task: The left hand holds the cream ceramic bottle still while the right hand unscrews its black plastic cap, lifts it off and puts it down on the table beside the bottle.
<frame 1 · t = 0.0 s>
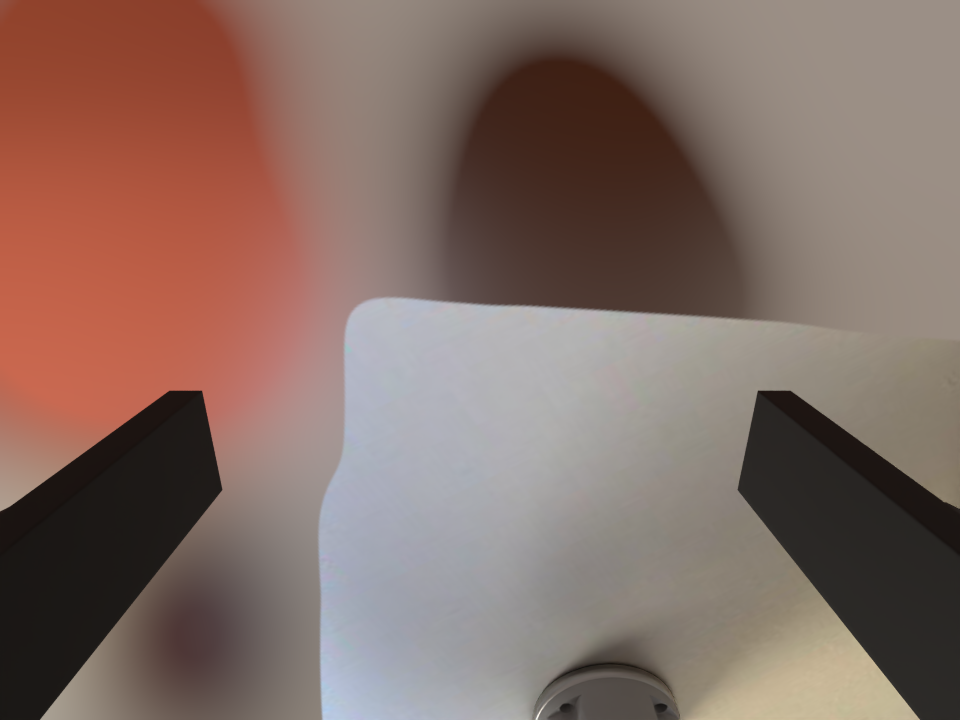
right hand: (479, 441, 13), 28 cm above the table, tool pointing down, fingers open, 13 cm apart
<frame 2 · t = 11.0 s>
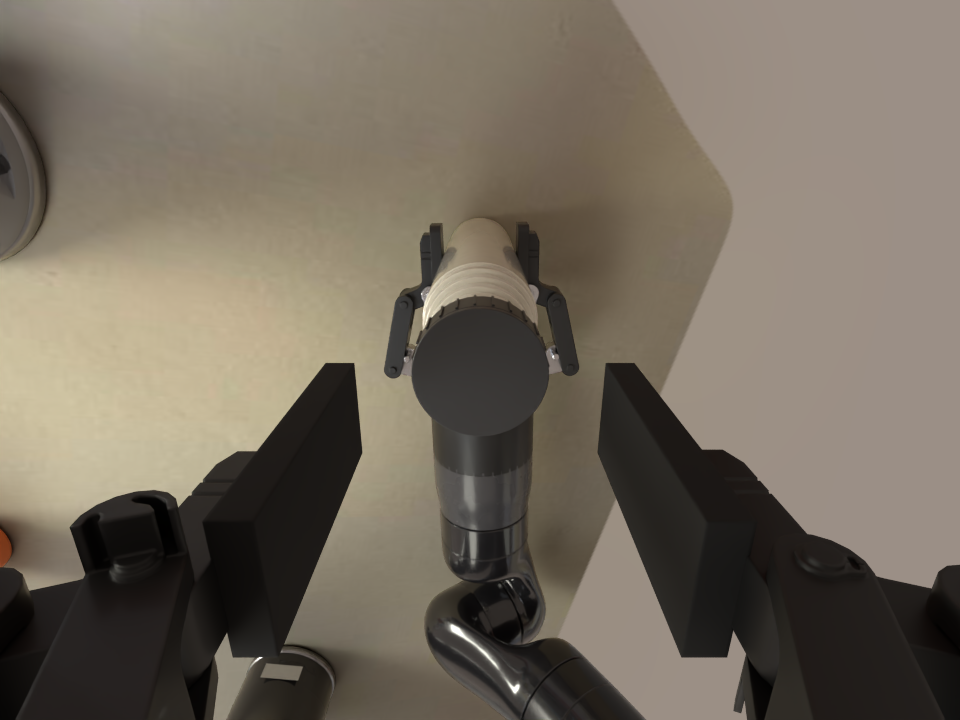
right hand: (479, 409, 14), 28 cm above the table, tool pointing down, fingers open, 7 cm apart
left hand: (478, 225, 34), fingers closed on bottle, 5 cm apart
bottle: (480, 250, 41), on the table, touching left hand
cap: (480, 372, 17), point 26 cm above the table, screwed on, not yet turned
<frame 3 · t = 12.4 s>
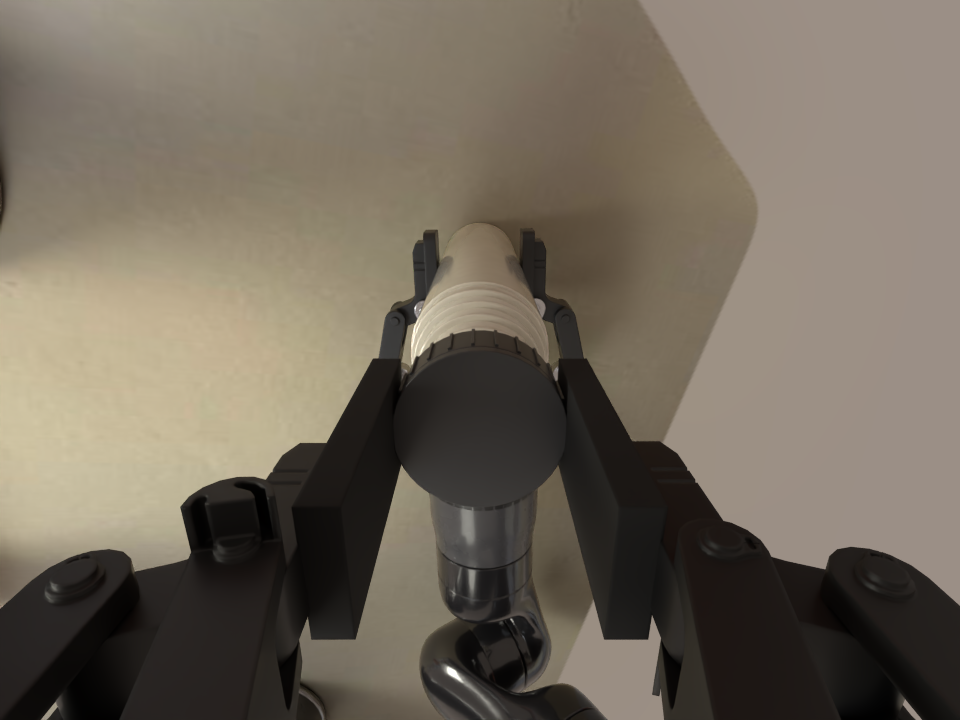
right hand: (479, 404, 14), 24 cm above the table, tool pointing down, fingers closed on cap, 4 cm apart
bottle: (479, 258, 37), on the table, touching left hand
cap: (479, 428, 13), point 26 cm above the table, screwed on, not yet turned, touching right hand
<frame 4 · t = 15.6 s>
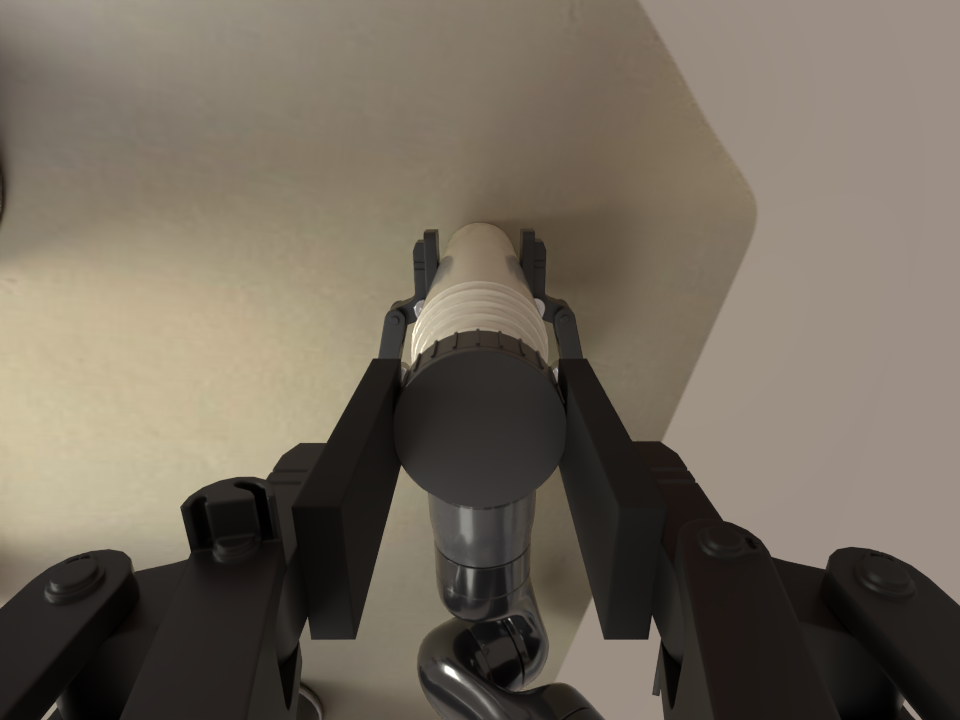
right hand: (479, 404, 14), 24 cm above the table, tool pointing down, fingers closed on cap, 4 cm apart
bottle: (479, 258, 37), on the table, touching left hand
cap: (479, 428, 13), point 26 cm above the table, turned 87° so far, risen 0.1 cm, still on its thread, touching right hand
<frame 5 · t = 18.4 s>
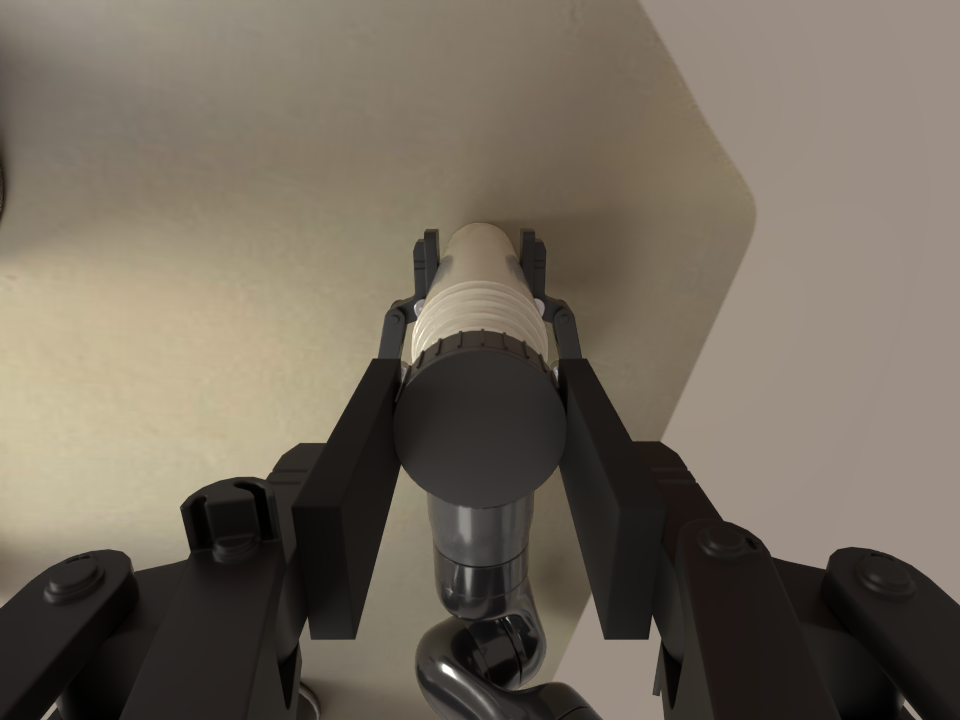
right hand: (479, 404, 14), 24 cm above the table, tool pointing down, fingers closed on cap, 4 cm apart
bottle: (479, 257, 37), on the table, touching left hand
cap: (479, 428, 13), point 26 cm above the table, turned 174° so far, risen 0.2 cm, still on its thread, touching right hand
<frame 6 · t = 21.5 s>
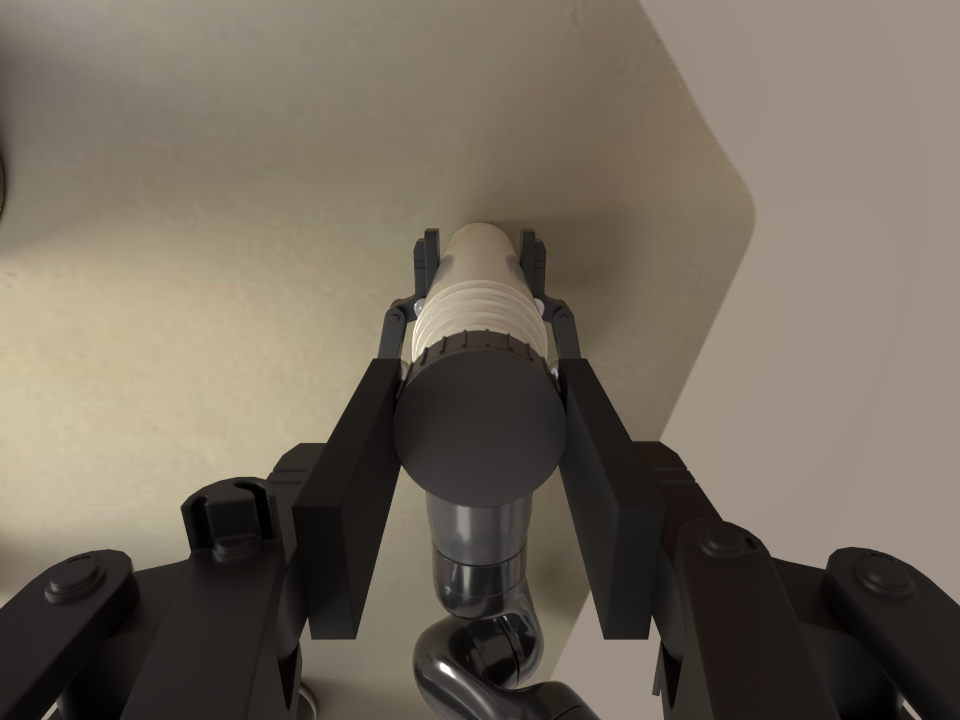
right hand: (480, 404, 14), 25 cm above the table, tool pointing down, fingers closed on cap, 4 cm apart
bottle: (479, 257, 37), on the table, touching left hand
cap: (479, 428, 13), point 26 cm above the table, turned 262° so far, risen 0.3 cm, still on its thread, touching right hand
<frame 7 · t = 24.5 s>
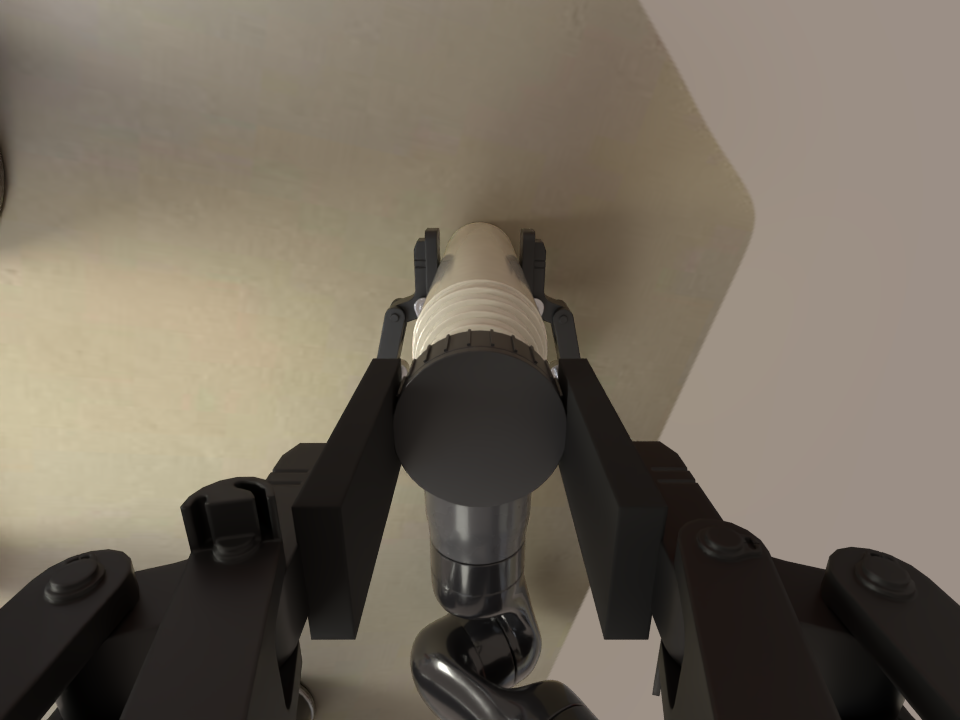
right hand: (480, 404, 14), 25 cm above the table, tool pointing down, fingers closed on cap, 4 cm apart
bottle: (479, 257, 37), on the table, touching left hand
cap: (479, 428, 13), point 26 cm above the table, turned 349° so far, risen 0.4 cm, still on its thread, touching right hand
when the right hand's fingers open (2 cm above the table, at t = 35.2 s): cap drops 2 cm, point 1 cm above the table.
when the left hand's fingers open (7 cm above the table, at t = 36.5 s): bottle stays where it is, on the table.
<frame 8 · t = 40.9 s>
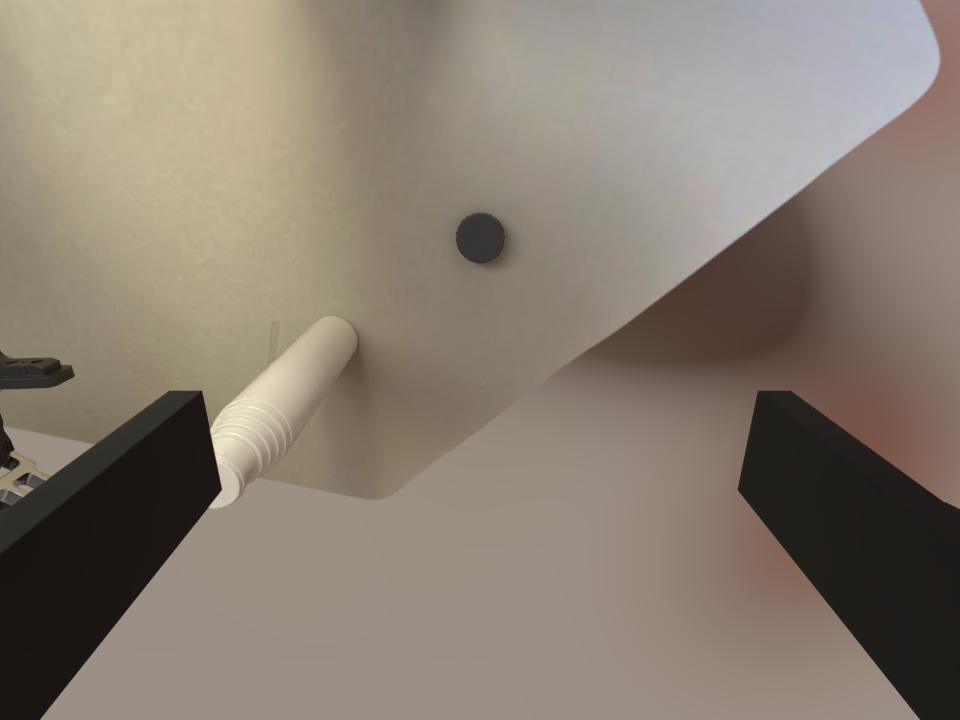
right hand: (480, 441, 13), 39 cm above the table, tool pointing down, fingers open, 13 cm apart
bottle: (333, 339, 53), on the table
cap: (480, 238, 48), point 1 cm above the table, off its thread
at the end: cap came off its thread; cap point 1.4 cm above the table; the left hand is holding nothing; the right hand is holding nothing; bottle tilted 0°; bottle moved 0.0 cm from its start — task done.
